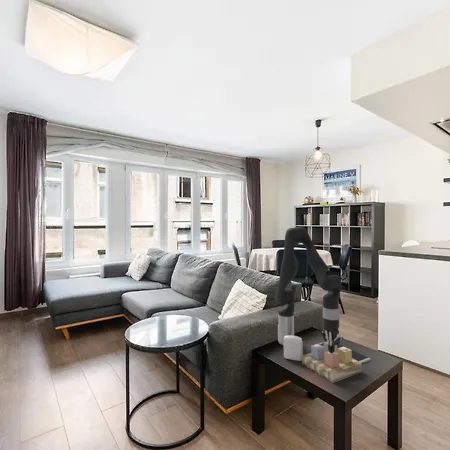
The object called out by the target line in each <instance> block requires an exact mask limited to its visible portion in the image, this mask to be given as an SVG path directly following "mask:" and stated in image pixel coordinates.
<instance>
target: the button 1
mask: <svg viewBox="0 0 450 450" xmlns="http://www.w3.org/2000/svg"><path fill="white" fill-rule="evenodd" d="M319 344H320V343H316V344H312V345H310V353H311V357H312V358H314V359H315V360H317V361H319V360H322V359H324V347H323V346H321V345H319Z"/></svg>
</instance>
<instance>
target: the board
mask: <svg viewBox="0 0 450 450" xmlns="http://www.w3.org/2000/svg"><path fill="white" fill-rule="evenodd" d="M337 354H338V351H337ZM301 363H302V365H303V366H304V365H305V367H307V368H308V369H309V368H310V369H309V370H311V371H312V370H313V372H314V373H316V374H317V373H318V374H317V375H319V376H320V375H321V377H322V378H324V379H325V380H327V381H328V382H330V383H332V384H334V383H337V382H339V381H342V380H344V379H348V378H349V377H353V376H355V375H358V374H360V373H362V372H363V367H362V366H363V363H361V362H359V361H357V360H355V359H353V358H352V362H351V363H348V364H344V363H342V362H340V361H339V367H336V368H333V369H331V368H329V367H328V366H326V365H325V361H324V359H322V360H319V361H317V360H315V359H314V358H312V357H311V352H310V353H306V354H303V356H302V361H301Z"/></svg>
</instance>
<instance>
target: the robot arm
mask: <svg viewBox="0 0 450 450" xmlns="http://www.w3.org/2000/svg"><path fill="white" fill-rule="evenodd" d="M299 244H302V245H303V246H304V247H305V250H306V258H307V263H308V264H309V267H310V268H311V270H312V271H313V272H314V274H315V278H316V281H317V284H318V286H319V287H320V288H321V289H322V290H323V291H325V292H327V293H326V294H324V295H323V297H322V329H320V330H319V332H320V334H321V337H322V339H323V342H327V344H328V351H329V352H330V353H334V351H335V345H338V344H340V343H341V342H342V341H343V339H344V336H342V335H340V331H339V328H340V311H339V310H340V309H339V308H340V307H339V298H340V294H341V292H342V280H341V278H340V276H338V275H337V274H329V275H328V274H327V272H328V271H329V266H328V265H327V264H326V262H325V261H324V259H323V258H322V257H321V254H319V252H318V250H317V249H316V247H315V244H314V242H313V240H312V238H311V236H310V235H309V232H308V231H307V229H306V228H305V227H304V226H296V227H290V228H288V229H286V231H285V235H284V246H283V247H284V248H283V257H282V262H281V267H280V273H279V278H278V284H277V287H276V290H275V296H274V297H275V302H276V303H277V304H278V305H284V306H283V307H280V308H279V309H278V311H277V313H278V325H277V341H278V343H279V344H280V345H282V346H284V337H285V336H288V335H292V336H295V319H294V318H295V317H294V316H295V315H294V313H295V297H296V296H295V291H294V289H293V288H290V287H287V286H288V285H289V284H290V282H292V281H293V279H294V278H295V277H296V276H297V274H298V273H297V272H298V269H299V262H298V260H297V257H296V255H295V246H296V245H299Z"/></svg>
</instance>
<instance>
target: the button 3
mask: <svg viewBox="0 0 450 450" xmlns="http://www.w3.org/2000/svg"><path fill="white" fill-rule="evenodd" d="M324 361H325V365H326V366H328V367H329V368H331V369H333V368H336V367H339V354H337V353H335V352H334V353H330V352H329V351H328V352H324Z"/></svg>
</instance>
